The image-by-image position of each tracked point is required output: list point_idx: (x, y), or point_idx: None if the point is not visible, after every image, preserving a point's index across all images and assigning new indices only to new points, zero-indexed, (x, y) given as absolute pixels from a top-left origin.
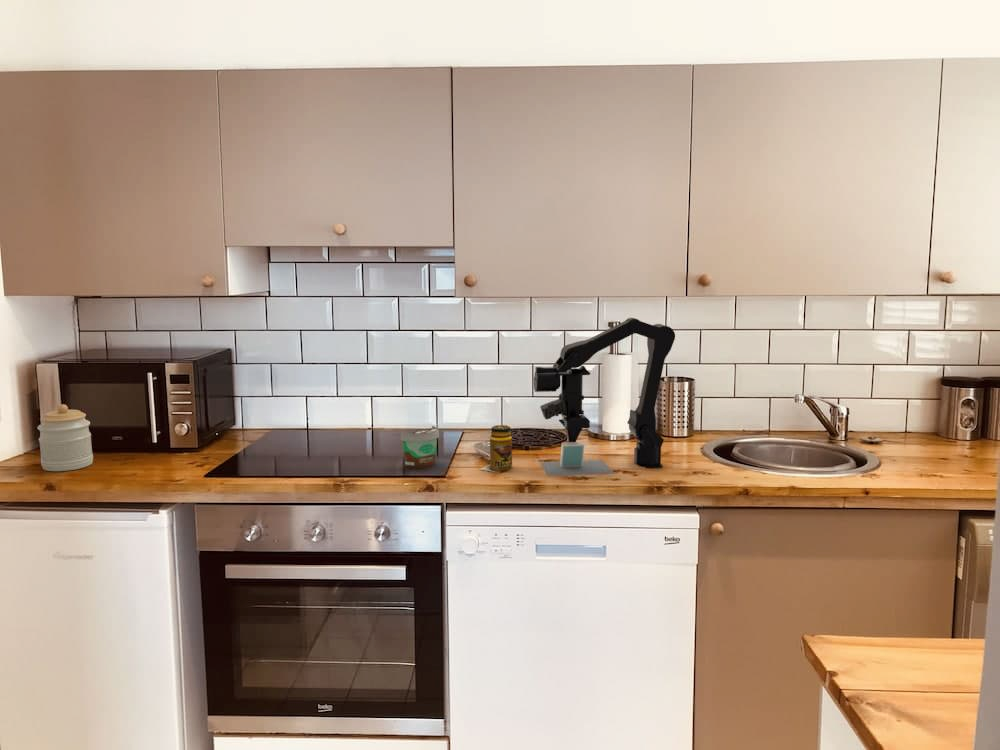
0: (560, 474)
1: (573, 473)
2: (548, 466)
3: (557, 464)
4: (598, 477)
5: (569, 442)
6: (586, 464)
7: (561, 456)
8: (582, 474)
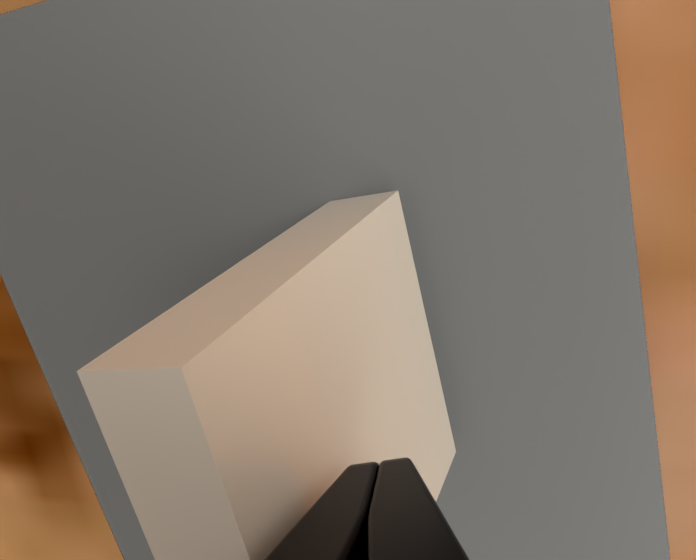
0: (7, 200)
1: (87, 346)
2: (348, 16)
3: (468, 148)
4: (89, 554)
5: (236, 535)
6: (483, 495)
7: (278, 251)
8: (72, 434)
